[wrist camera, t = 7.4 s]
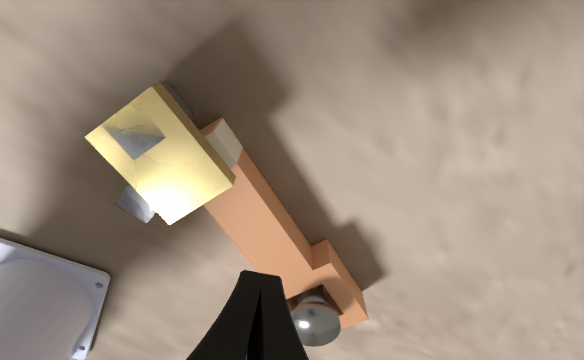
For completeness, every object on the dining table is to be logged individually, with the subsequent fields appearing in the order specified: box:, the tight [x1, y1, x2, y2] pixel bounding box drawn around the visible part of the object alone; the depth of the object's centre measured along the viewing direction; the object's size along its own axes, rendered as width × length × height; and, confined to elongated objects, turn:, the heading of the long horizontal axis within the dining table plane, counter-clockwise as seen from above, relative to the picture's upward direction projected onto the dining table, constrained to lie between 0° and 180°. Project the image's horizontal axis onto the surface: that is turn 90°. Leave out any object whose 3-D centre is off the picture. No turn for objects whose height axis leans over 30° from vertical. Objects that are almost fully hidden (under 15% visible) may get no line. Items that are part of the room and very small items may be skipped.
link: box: [199, 117, 368, 330], centre depth 21 cm, size 16×5×2 cm, turn 31°
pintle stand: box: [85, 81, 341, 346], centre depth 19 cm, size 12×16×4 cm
